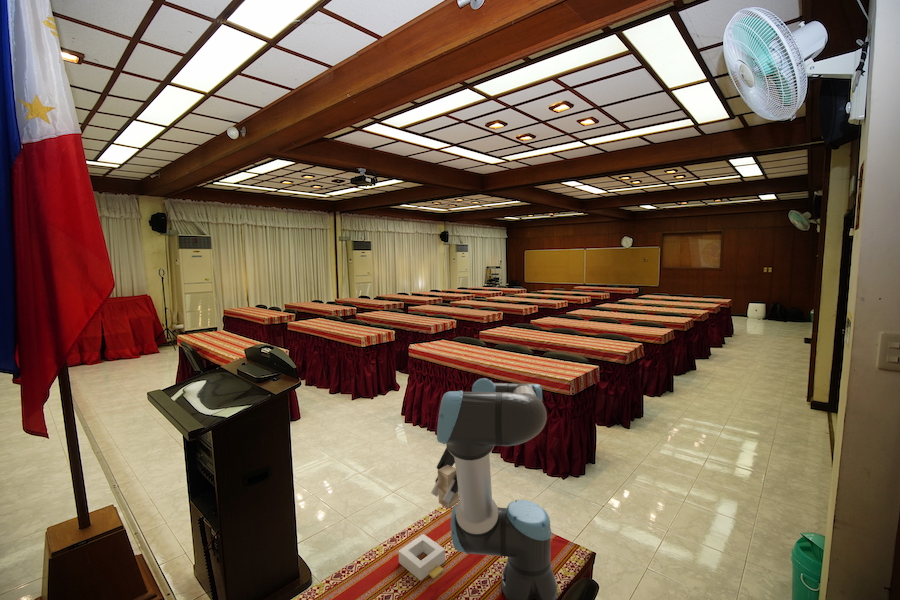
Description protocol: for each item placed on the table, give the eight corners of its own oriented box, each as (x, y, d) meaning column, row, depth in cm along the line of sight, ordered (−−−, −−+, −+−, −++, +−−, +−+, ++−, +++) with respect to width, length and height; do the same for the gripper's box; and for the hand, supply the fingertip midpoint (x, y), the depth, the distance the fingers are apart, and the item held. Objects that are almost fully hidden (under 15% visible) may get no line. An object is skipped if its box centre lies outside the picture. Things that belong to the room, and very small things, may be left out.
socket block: (450, 565, 120) (450, 552, 119) (425, 585, 113) (425, 572, 112) (423, 545, 128) (423, 533, 128) (399, 562, 121) (398, 550, 121)
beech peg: (458, 502, 127) (457, 469, 126) (448, 508, 124) (447, 475, 123) (448, 496, 130) (447, 464, 129) (438, 502, 127) (437, 470, 126)
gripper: (499, 442, 130) (466, 514, 120) (460, 427, 142) (427, 491, 132) (488, 432, 125) (453, 505, 116) (449, 418, 138) (414, 483, 128)
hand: (439, 498), depth 124 cm, fingers closed on beech peg, 4 cm apart
